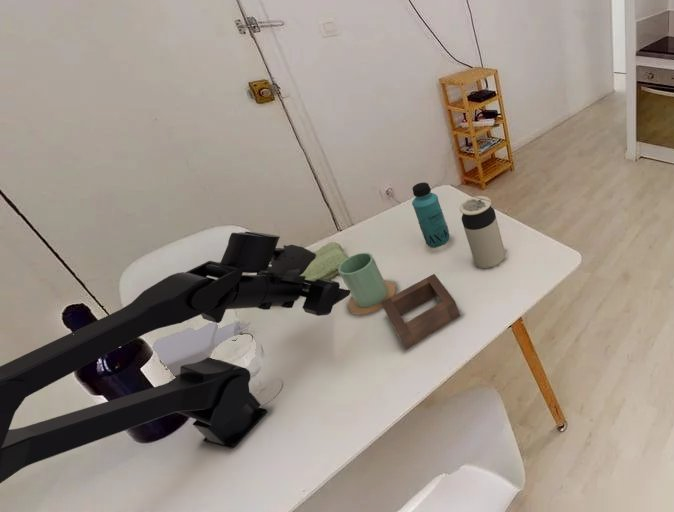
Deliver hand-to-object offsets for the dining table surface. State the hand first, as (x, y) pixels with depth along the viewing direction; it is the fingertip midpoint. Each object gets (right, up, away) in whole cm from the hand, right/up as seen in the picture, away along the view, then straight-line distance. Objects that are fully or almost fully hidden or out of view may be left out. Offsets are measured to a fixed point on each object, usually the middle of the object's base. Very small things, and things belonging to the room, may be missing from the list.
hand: (333, 288), depth 89 cm
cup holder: (+17, -8, +5) cm, 20 cm away
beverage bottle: (+10, +4, +27) cm, 29 cm away
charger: (-26, -13, -1) cm, 29 cm away
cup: (+2, -5, +10) cm, 11 cm away
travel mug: (+27, +1, +21) cm, 34 cm away
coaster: (+2, -6, +10) cm, 12 cm away
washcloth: (-19, -3, +17) cm, 26 cm away
